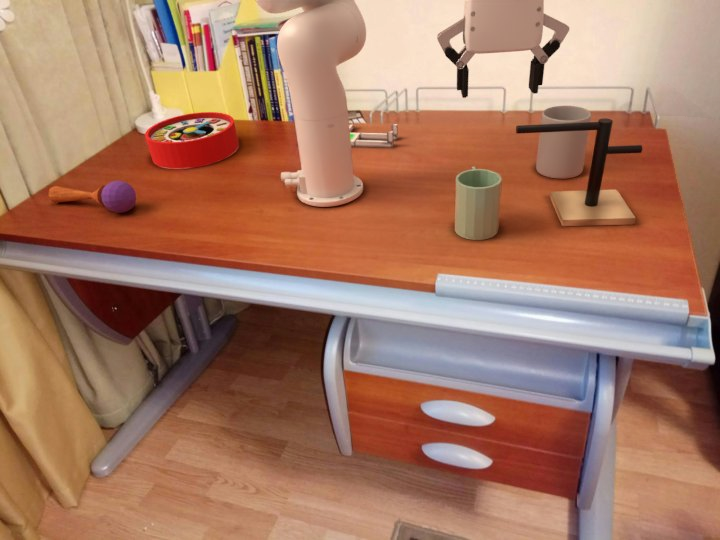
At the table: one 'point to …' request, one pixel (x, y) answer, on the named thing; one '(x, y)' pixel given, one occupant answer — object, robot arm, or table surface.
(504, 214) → the table surface
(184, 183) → the table surface
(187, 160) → the toy clock
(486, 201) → the small mug
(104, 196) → the purple maraca
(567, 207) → the mug holder
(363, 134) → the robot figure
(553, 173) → the mug
